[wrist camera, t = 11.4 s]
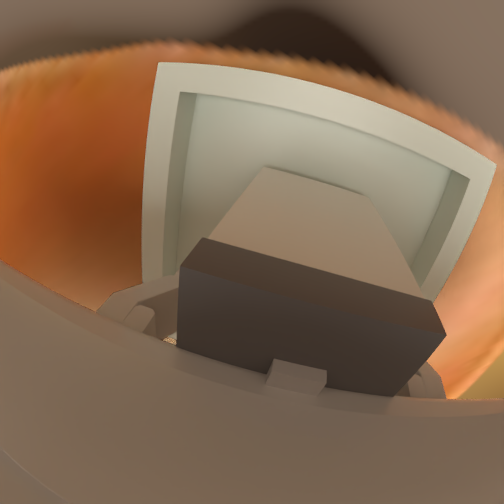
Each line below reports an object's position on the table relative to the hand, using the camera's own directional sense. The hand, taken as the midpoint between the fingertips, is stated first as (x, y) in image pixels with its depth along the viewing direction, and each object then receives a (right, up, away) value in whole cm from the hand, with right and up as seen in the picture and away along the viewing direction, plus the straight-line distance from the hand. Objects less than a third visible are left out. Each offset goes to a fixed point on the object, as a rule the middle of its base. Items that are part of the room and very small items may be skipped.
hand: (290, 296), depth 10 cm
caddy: (+1, +1, +3) cm, 3 cm away
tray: (+1, +2, +4) cm, 5 cm away
